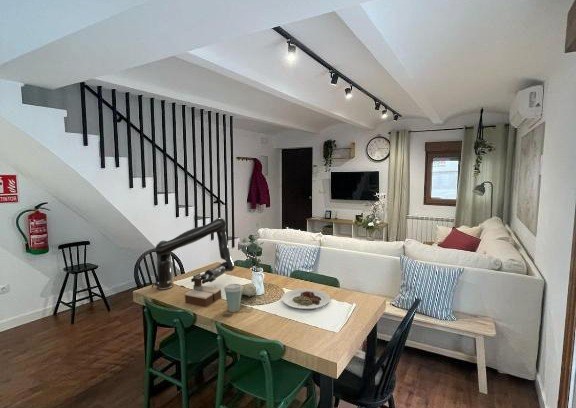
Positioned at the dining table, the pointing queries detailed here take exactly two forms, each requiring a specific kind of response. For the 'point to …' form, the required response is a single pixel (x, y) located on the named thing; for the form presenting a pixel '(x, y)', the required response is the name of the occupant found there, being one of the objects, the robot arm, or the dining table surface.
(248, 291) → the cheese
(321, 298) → the plated food
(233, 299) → the disposable coffee cup
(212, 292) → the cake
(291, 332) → the dining table surface
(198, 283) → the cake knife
